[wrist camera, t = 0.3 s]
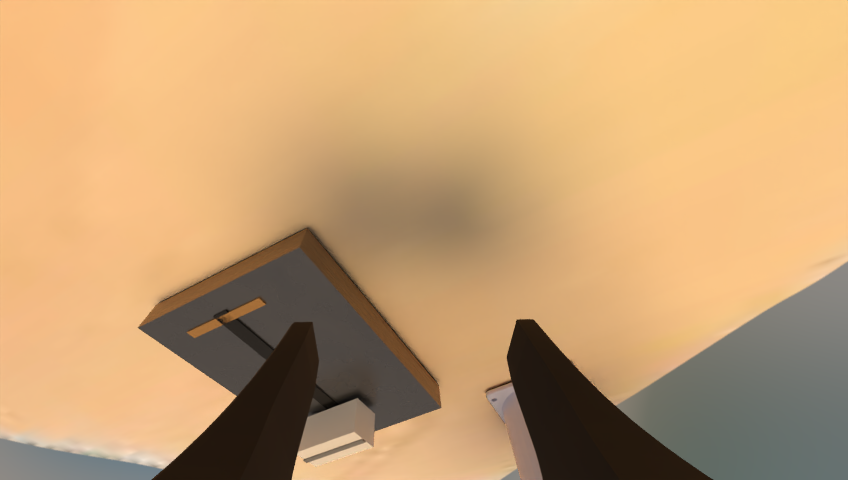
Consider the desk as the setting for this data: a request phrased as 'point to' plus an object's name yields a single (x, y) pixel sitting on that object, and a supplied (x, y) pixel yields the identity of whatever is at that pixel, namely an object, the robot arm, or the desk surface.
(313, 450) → the fader knob
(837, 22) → the desk surface
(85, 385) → the desk surface
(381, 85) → the desk surface
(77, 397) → the desk surface
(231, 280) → the fader console
